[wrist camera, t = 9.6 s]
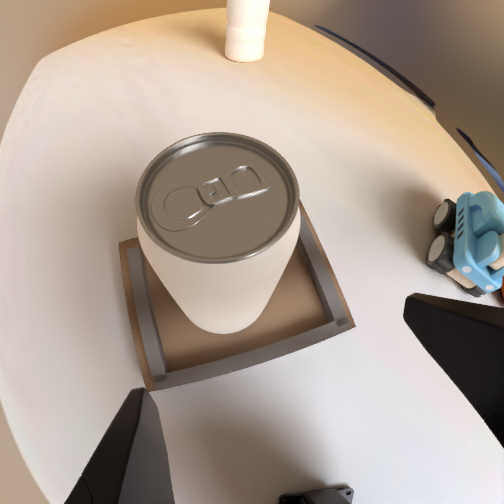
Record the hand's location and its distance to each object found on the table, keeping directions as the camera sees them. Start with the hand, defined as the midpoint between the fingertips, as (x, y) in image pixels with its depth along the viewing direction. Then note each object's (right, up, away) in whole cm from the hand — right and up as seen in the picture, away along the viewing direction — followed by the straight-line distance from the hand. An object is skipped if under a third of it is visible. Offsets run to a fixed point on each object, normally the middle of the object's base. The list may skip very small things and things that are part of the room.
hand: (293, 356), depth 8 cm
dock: (-3, 0, +15) cm, 15 cm away
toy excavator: (+21, 0, +17) cm, 28 cm away
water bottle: (-3, +39, +33) cm, 51 cm away
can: (-3, 0, +12) cm, 13 cm away
